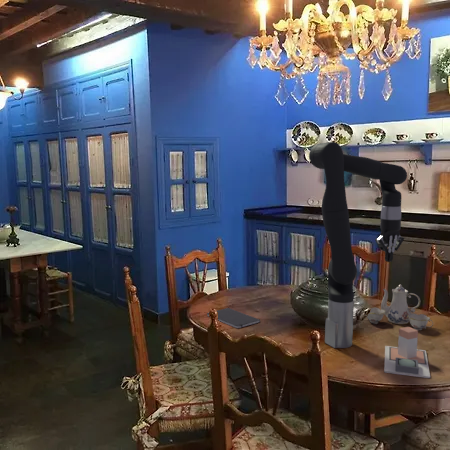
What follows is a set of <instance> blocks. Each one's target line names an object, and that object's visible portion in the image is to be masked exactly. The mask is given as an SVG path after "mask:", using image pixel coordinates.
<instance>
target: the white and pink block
mask: <svg viewBox="0 0 450 450" xmlns="http://www.w3.org/2000/svg"><path fill="white" fill-rule="evenodd" d="M418 336H419V330H415V329H414V327H413V328H412V327H410V326H405V327H400V328H398V344H397V347H398V355H400V356H402V357H404V358H406V359H408V358H413V357H416V356H417V349H418V338H419V337H418Z"/></svg>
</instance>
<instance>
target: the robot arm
mask: <svg viewBox="0 0 450 450" xmlns="http://www.w3.org/2000/svg"><path fill="white" fill-rule="evenodd" d="M308 157H309V158H308V159H309V162H310V164H312V165H313V167H315V168H317V169H320V170H324V175H325V189H324V193H323V196H322V200H321V215H322V221H323V226H324V231H325V233H326V234H325V235H326V237H327V240H328V243H329V246H330V247H329V248H330V254H331V255H330V256H331V260H330V261H329V263H328V268H327V292H328V293H327V294H328V302H327V303H328V305H327V306H328V307H327V317H326V318H325V326H324V329H325V330H324V343H325V344H327V345H328V346H330V347H331V348H334V349H346V348H350V347H351V346H353V334H354V333H353V331H354V327H353V326H354V307H355V291H354V284H353V283H354V282H353V281H354V280H355V279H356V276H357V273H358V271H357V266H356V261H355V257H354V253H353V249H352V240H351V225H350V214H349V207H348V206H349V205H348V202H347V194H346V184H345V172H347V173H350V174H352V175H353V174H354V175H357V176H359V177H360V176H361V177H364V178H367V179H372V180H378V181H379V185H380V190H381V195H382V198H381V199H382V200H381V211H380V225H379V227H380V230H381V232H380V235H379V237H378V238H375V240H374V241H375V243H376V244H377V246H378V248H379V249H380V251H382V252H384V260H385V262H387V263H391V262H393V259H394V252H396V251H398V250H399V249H400V247H401V245H402V243H403V242H404V240H405V237H403V236H401V233H400V230H401V228H402V227H401V226H402V193H401V191H399V190H397V188H396V185H398V186H399V185H401V184H403V183H404V182H405V181H406V180H407V177H408V172H407V169H405V168H404V167H403V166H401V165H397V164H392V163H385V162H383V161H379V160H378V159H373V158H369V157H367V156H366V157H365V156H359V155H358V156H357V155H351V154H346V153H344V152H343V148H342V147H341V146H340V144H339V143H337V142H335V141H329V142H322V143H318V144H316V145H313V147H312V148H311V149H310V150H309V154H308Z"/></svg>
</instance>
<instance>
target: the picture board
mask: <svg viewBox="0 0 450 450" xmlns="http://www.w3.org/2000/svg"><path fill="white" fill-rule="evenodd" d="M401 359H406V358H404V357H402V356H400V355H398V346H390V345H384V365H383V367H384V370H383V371H384V372H383V373H385V374H387V373H388V374H393V375H401V376H411V377H415V378H416V377H417V378H425V379H431V373H430V368H429V362H428V356H427V351H426V350H424V349H418V348H417V356H416V357H413V358H408V359H409V360H412V361H414V362H415V367H409V366H401V365H399V360H401Z"/></svg>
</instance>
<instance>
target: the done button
mask: <svg viewBox="0 0 450 450" xmlns="http://www.w3.org/2000/svg"><path fill="white" fill-rule="evenodd" d="M399 365H401V366H409V367H415V362H414V361H412V360H409V359H401V360H399Z"/></svg>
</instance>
